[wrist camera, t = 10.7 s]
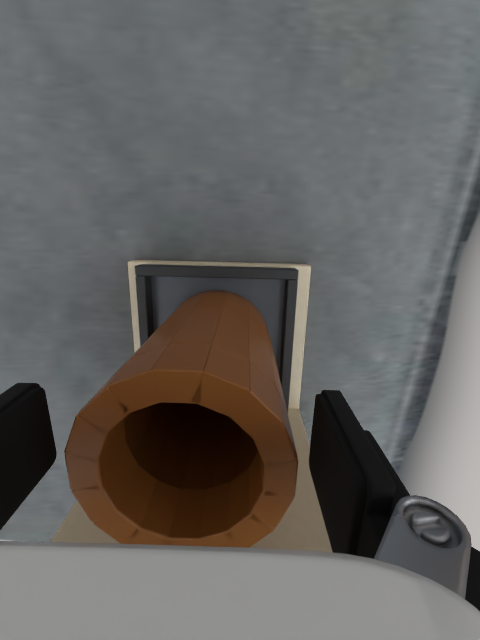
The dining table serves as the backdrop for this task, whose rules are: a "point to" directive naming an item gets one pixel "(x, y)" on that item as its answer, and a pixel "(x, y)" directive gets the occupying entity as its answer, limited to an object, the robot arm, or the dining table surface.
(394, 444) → the dining table surface
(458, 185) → the dining table surface
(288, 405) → the coffee maker
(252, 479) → the brown hollow cylinder
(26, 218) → the dining table surface
